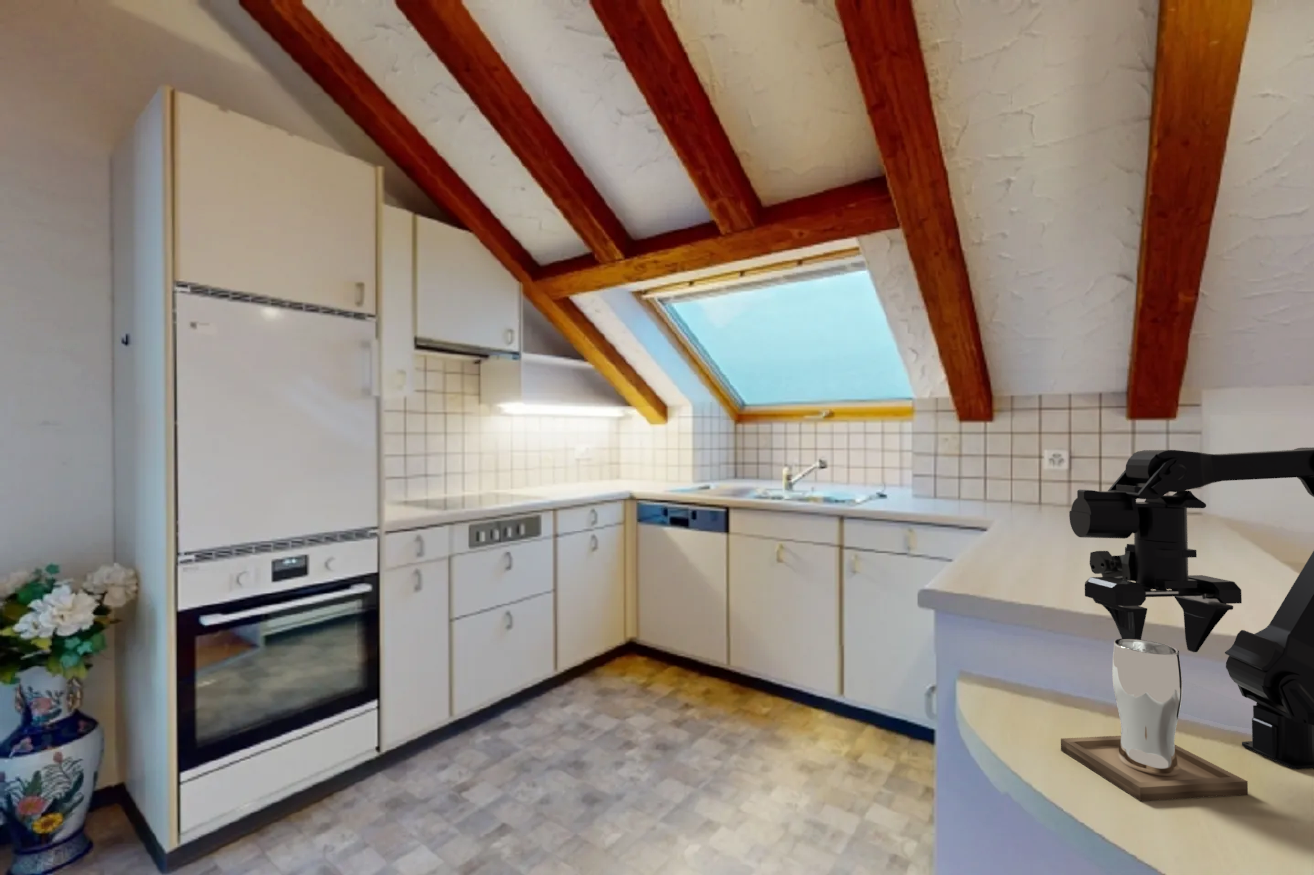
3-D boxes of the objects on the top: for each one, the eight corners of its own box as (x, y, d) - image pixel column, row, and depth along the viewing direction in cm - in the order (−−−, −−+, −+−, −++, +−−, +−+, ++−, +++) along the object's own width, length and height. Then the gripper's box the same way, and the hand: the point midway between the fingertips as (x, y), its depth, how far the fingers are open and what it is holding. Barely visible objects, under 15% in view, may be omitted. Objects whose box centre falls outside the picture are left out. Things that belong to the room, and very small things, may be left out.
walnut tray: (1154, 745, 83) (1154, 733, 83) (1247, 794, 71) (1247, 781, 71) (1060, 750, 82) (1060, 738, 82) (1140, 801, 70) (1140, 787, 70)
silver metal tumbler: (1198, 775, 74) (1196, 653, 74) (1154, 781, 72) (1152, 657, 73) (1141, 748, 81) (1139, 636, 81) (1100, 753, 79) (1098, 639, 79)
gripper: (1166, 531, 92) (1168, 633, 92) (1054, 532, 90) (1055, 636, 90) (1244, 542, 81) (1246, 657, 81) (1118, 543, 79) (1120, 662, 79)
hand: (1162, 652), depth 83 cm, fingers open, 9 cm apart
